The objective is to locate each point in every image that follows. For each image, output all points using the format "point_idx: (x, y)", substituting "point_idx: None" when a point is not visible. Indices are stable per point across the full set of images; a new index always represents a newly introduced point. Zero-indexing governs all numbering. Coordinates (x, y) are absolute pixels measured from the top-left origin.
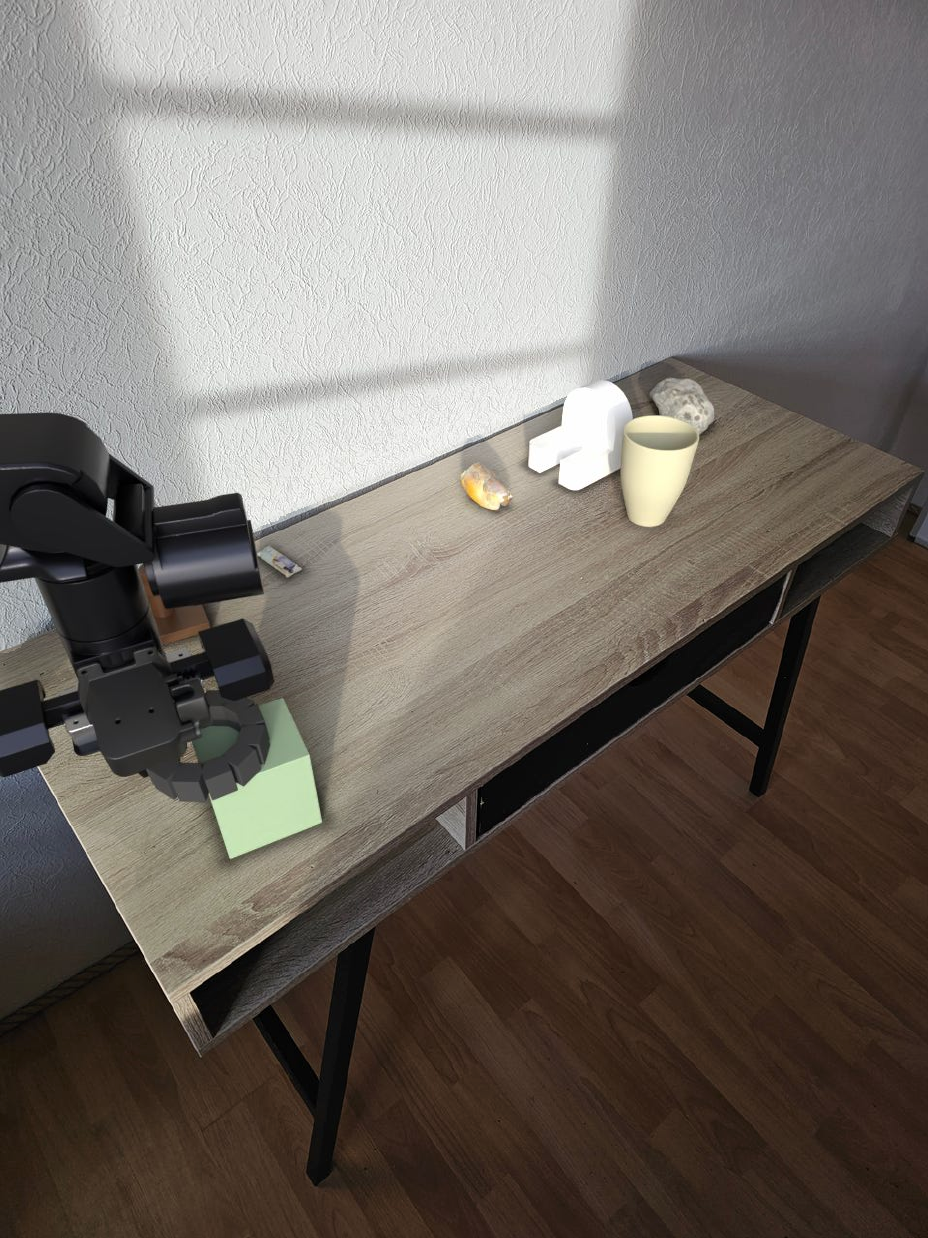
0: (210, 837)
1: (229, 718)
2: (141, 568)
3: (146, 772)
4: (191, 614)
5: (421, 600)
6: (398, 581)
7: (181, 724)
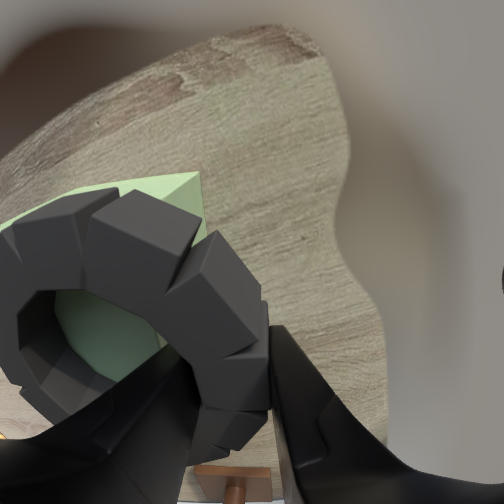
0: (222, 221)
1: (74, 385)
2: None
3: (271, 335)
4: (209, 482)
5: (19, 401)
6: (39, 425)
7: (51, 448)
